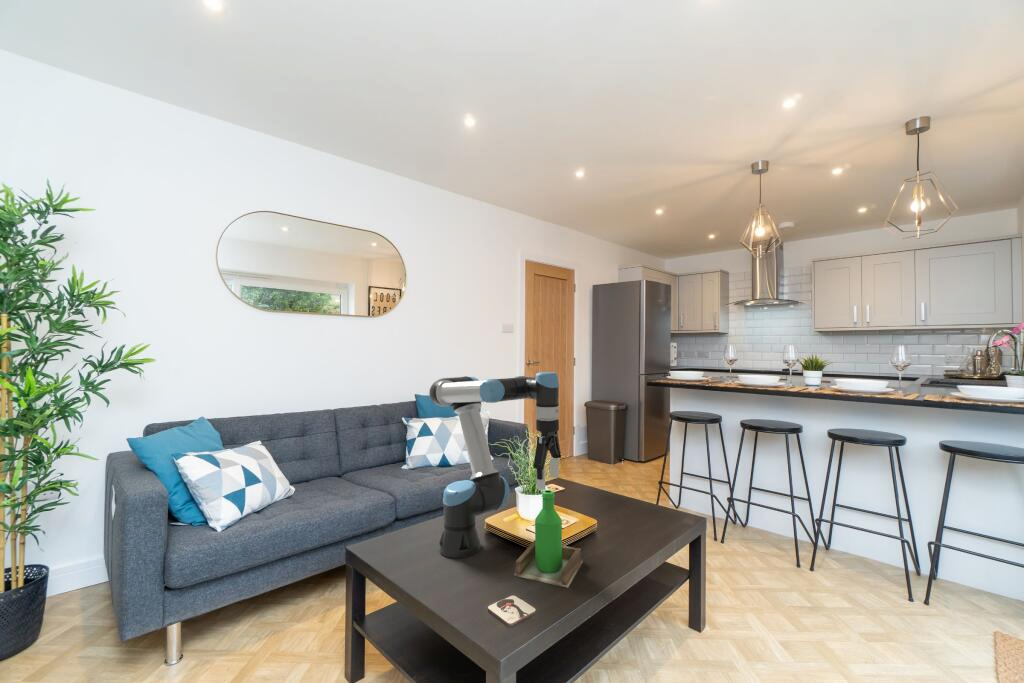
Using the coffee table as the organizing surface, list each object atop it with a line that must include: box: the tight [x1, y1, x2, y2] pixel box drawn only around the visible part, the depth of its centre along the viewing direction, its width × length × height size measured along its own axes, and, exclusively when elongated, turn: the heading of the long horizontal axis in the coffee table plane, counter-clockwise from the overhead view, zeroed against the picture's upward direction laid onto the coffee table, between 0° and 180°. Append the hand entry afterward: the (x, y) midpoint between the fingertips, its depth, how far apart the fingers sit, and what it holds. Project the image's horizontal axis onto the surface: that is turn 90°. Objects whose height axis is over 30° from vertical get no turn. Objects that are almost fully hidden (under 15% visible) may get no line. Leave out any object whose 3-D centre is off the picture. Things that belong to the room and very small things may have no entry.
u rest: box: [513, 539, 584, 589], centre depth 147 cm, size 18×17×5 cm
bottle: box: [534, 489, 563, 573], centre depth 146 cm, size 9×9×25 cm
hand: (548, 482), depth 146 cm, fingers open, 13 cm apart
